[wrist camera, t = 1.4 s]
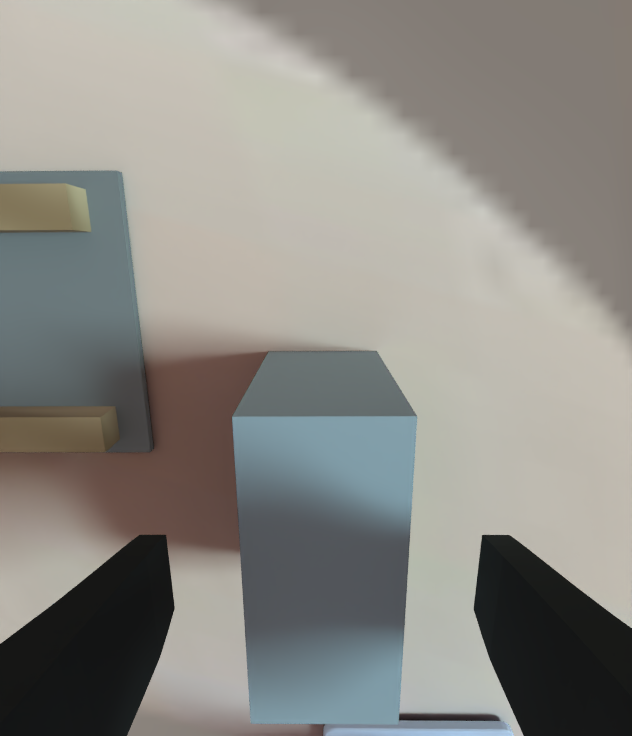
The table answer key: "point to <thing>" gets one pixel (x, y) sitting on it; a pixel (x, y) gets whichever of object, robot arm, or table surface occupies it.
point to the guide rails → (51, 423)
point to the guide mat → (75, 312)
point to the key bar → (324, 536)
